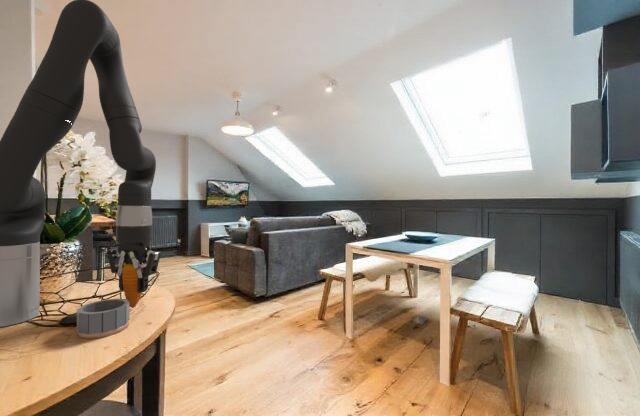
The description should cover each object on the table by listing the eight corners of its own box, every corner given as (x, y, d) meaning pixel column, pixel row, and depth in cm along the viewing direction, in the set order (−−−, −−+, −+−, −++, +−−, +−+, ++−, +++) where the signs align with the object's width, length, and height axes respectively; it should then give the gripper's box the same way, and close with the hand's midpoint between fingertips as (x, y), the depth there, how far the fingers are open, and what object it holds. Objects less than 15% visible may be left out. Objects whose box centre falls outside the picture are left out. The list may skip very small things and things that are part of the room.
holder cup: (68, 341, 54) (68, 315, 54) (89, 323, 62) (89, 300, 62) (120, 335, 57) (120, 311, 57) (133, 318, 65) (134, 297, 65)
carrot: (125, 305, 72) (126, 247, 72) (147, 303, 74) (148, 247, 73) (117, 312, 67) (118, 250, 67) (141, 310, 69) (142, 250, 69)
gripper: (170, 223, 72) (168, 289, 73) (123, 221, 75) (122, 284, 76) (146, 226, 65) (145, 298, 65) (96, 223, 68) (95, 293, 68)
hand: (133, 290), depth 70 cm, fingers closed on carrot, 4 cm apart
